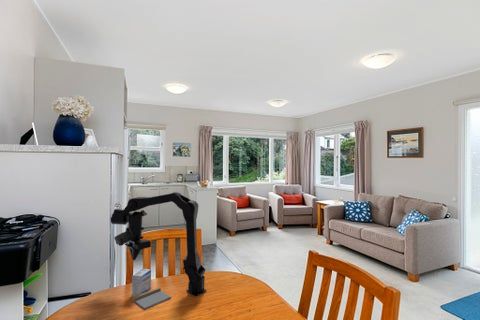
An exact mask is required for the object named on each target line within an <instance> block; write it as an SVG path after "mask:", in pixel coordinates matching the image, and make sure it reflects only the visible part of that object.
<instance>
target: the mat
mask: <svg viewBox="0 0 480 320" xmlns="http://www.w3.org/2000/svg"><path fill="white" fill-rule="evenodd" d="M171 299H172V296H171V295H169V294H168V293H166V292H164V291H163V290H161V287H160V286H159V287H156V288H154V289H151V290H150V289H149V290H148V291H147V292H145V293H143V294H140V295H137V296H132V302H134V303H135V305H138V306H139V307H140V308H142V309H143V310H144V311H145V310H148V309H149V308H152V307H154V306H157V305H158V304H161V303H163V302H166V301H168V300H171Z"/></svg>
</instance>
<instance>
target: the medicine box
mask: <svg viewBox="0 0 480 320" xmlns="http://www.w3.org/2000/svg"><path fill="white" fill-rule="evenodd" d="M151 286H152V269H149V268H142V269H140V270H138V272H136V273H134V274H133V275H132V277H131V296H132V297H135V296H137V295H140V294H143V293H145V292H148V291H150V289H151Z"/></svg>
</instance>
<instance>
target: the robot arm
mask: <svg viewBox="0 0 480 320" xmlns="http://www.w3.org/2000/svg"><path fill="white" fill-rule="evenodd" d="M168 203H174V204H175V205H176V207H177V208H179V209H180V210H181V211H182V216H183V219H184V221H185V225H186V226H185V227H186V232H185V233H186V251H187V253H186V254H187V255H186V256H185V257H184V258H183V259H182V264H183V268H182V270H184V274H185V275H186V276H187V278H188V284H187V285H188V288H187V289H186V292H187V293H188V294H190V295H193V296H194V297H197V296H200V295H202V294H203V293H207V289H206V288H205V278H206V277H205V276H204V275H205V273H206V268H205V267H204V266H203V265H202V262H201V258H200V254H199V253H198V244H197V243H198V240H197V236H198V235H197V218H198V213H199V203H198V202H197V201H195V200H192V199H190V198H188V197H186V196H184V195H182V194H181V193H180V192H178V191H174V192H172V193H167V194H161V195H155V196H136V197H133V198H129V200H128V201H127V204H126V206H125V207H124V208H123V209H120V208H115V209H113V213H112V214H111V216H110V223H111V224H112V225H123V226H124V225H125V226H126V225H127V224H128V227H127V226H126V227H125V231H124V232H121V233H119V234H117V235H116V236H114V241H115V245H118V246H119V247H121V246H124V245H125V246H126V247H127V248H128V251H129V252H130V257H131V260H132V261H136V260H137V258H138V256H139V254H140V252H141V250H145V249H149V248H151V247H152V242H151V241H150V240H149V239H146V238H144V236H143V235H142V234H143V233H142V232H143V230H145V227H143V217H145V216H147V215H148V213H147V212H146V211H145V210H144V208H147V207H149V206H155V205H160V204H168Z"/></svg>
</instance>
